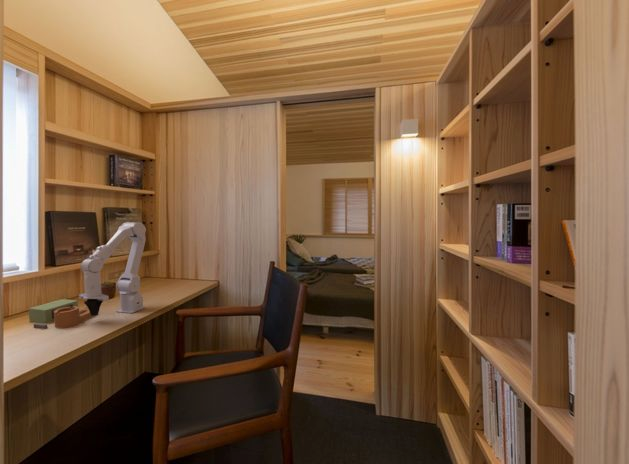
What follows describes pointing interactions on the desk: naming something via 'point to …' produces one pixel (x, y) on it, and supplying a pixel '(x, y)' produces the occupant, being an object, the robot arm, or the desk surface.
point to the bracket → (70, 316)
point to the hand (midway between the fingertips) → (94, 315)
